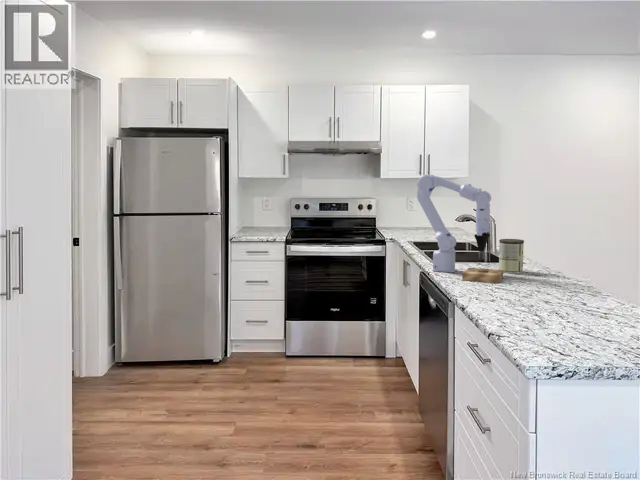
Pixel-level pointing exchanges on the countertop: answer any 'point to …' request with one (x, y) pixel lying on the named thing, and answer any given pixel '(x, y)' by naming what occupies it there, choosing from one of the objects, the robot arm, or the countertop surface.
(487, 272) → the tan slotted block
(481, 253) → the pin
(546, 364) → the countertop surface
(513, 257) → the coffee can
